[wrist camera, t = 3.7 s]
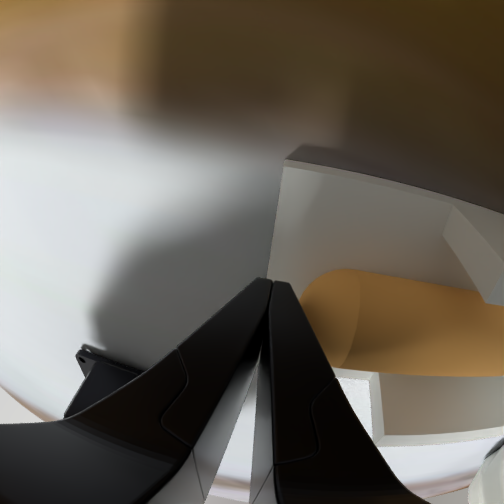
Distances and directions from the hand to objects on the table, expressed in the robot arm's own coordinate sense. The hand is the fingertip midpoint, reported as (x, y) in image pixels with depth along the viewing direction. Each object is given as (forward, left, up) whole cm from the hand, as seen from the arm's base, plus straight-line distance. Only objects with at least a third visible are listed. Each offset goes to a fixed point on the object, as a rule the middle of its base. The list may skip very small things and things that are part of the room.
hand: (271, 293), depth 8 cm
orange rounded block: (-1, -5, -2) cm, 5 cm away
